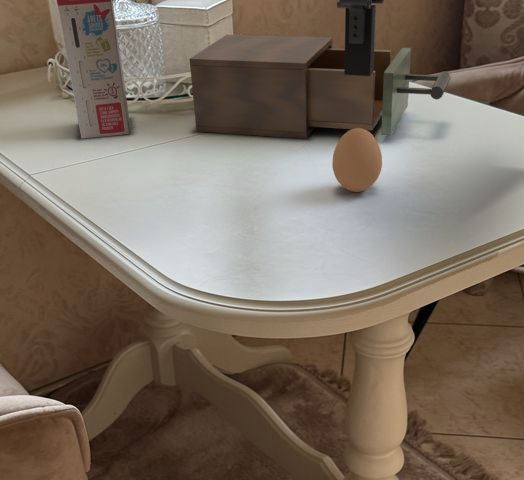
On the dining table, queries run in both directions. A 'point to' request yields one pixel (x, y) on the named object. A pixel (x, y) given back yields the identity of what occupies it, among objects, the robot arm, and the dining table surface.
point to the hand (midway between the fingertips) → (358, 73)
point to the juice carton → (95, 66)
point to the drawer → (364, 91)
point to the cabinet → (254, 84)
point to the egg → (357, 160)
